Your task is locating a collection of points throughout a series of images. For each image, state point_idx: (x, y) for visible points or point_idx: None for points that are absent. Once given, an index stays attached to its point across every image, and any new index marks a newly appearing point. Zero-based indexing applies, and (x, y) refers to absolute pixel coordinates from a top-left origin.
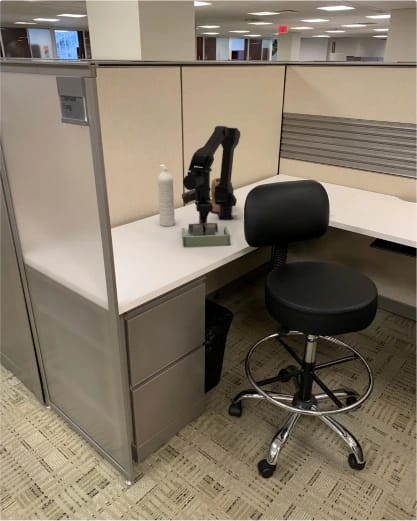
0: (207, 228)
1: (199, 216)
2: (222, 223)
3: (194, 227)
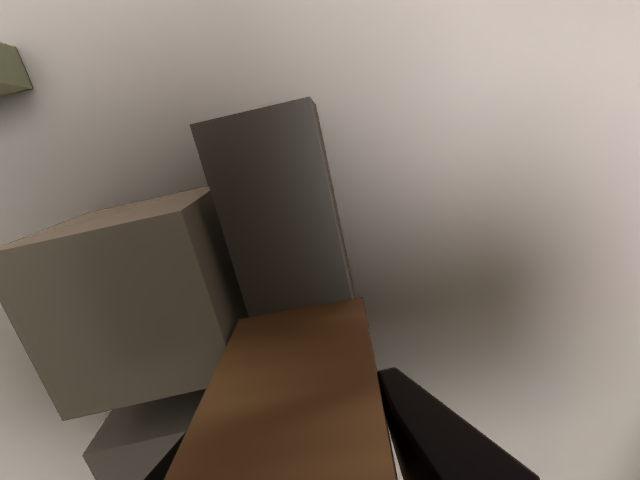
0: (102, 465)
1: (248, 458)
2: (581, 455)
3: (24, 275)
